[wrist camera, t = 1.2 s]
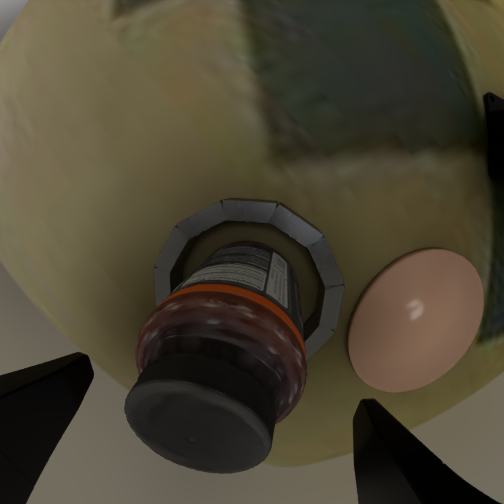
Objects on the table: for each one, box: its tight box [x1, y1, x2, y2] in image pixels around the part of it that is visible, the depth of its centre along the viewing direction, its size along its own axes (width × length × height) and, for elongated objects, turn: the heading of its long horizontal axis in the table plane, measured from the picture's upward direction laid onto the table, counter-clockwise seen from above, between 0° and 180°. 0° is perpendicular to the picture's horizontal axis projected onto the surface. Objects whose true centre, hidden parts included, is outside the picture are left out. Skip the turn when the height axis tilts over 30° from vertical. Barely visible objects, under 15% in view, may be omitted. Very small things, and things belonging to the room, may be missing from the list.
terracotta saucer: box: [347, 247, 484, 392], centre depth 15 cm, size 11×11×1 cm
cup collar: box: [154, 198, 345, 362], centre depth 15 cm, size 10×10×2 cm
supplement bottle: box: [124, 241, 307, 474], centre depth 11 cm, size 6×6×11 cm
